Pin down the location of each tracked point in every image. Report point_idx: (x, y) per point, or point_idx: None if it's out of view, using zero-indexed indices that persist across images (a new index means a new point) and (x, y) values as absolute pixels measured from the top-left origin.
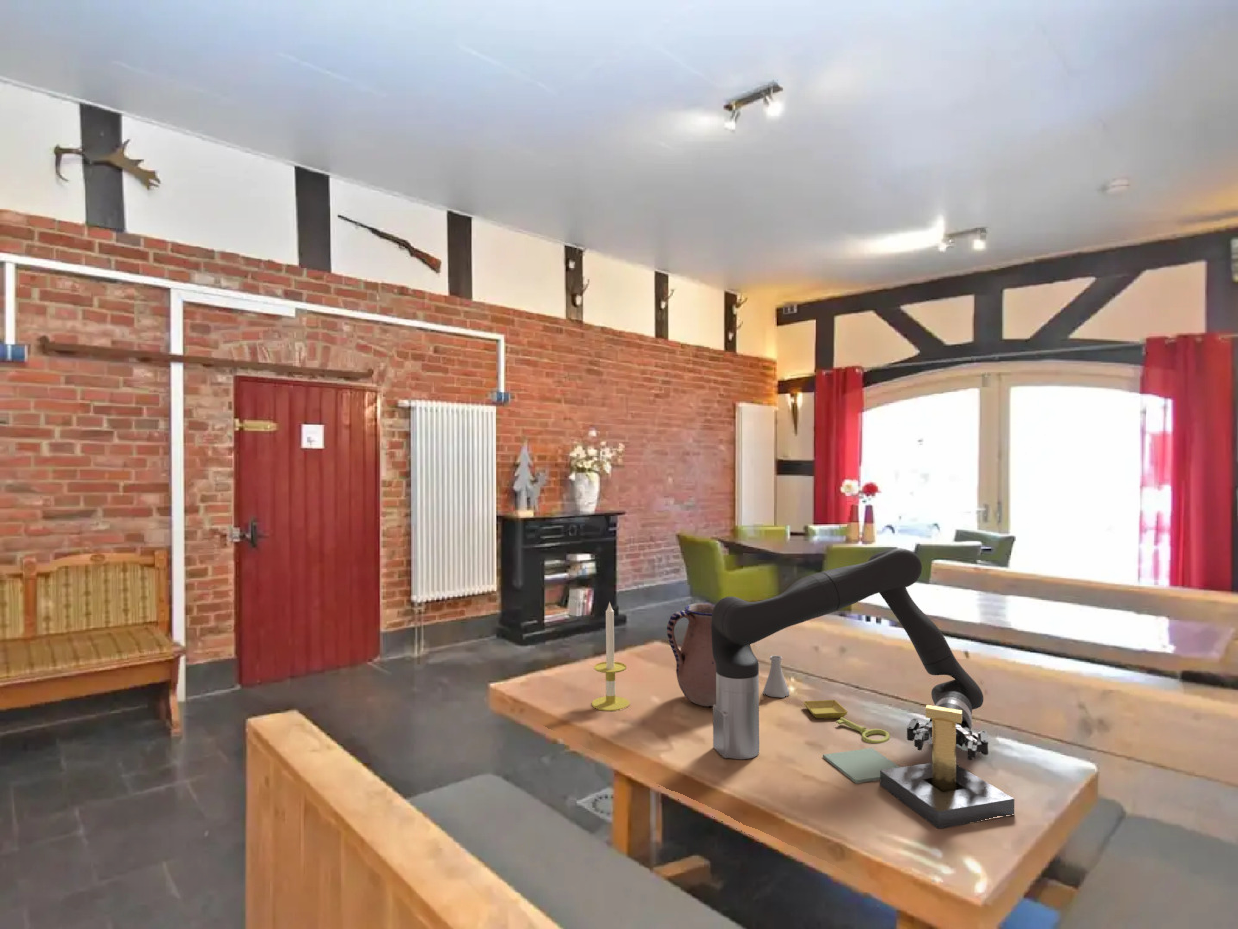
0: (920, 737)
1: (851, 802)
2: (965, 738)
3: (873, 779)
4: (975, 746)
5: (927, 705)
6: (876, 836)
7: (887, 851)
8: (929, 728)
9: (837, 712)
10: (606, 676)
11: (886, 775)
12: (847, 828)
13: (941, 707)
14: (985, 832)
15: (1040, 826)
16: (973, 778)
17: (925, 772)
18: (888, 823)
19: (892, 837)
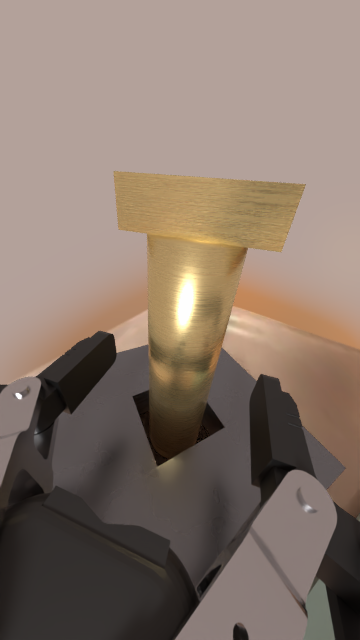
0: (271, 389)
1: (328, 394)
2: (32, 433)
3: (357, 518)
4: (56, 363)
5: (297, 184)
6: (263, 332)
7: (248, 318)
8: (247, 531)
9: None
10: None
11: (314, 439)
12: (296, 340)
13: (214, 178)
14: None
15: (46, 367)
16: (75, 461)
17: (217, 480)
18: (258, 352)
19: (248, 332)
